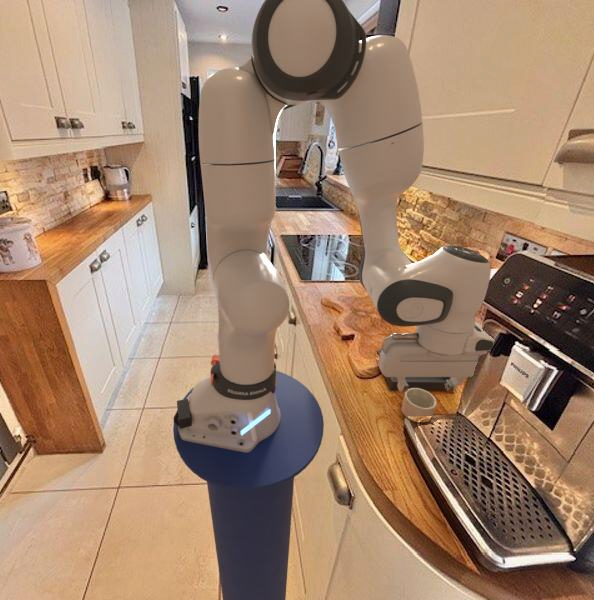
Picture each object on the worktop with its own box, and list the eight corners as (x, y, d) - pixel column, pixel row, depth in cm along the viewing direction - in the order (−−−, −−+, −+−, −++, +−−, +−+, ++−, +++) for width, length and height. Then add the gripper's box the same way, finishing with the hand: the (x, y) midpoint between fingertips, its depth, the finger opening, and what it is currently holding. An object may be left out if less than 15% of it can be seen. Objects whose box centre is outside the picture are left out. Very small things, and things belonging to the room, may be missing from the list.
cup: (406, 424, 67) (411, 409, 65) (396, 402, 72) (400, 387, 70) (436, 425, 67) (442, 409, 65) (424, 403, 72) (428, 387, 70)
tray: (390, 390, 76) (392, 381, 75) (375, 357, 87) (376, 349, 85) (452, 391, 75) (455, 382, 74) (429, 357, 86) (431, 349, 85)
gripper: (390, 343, 57) (378, 400, 64) (509, 343, 57) (485, 401, 63) (379, 324, 63) (369, 378, 70) (487, 323, 62) (467, 378, 69)
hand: (425, 389), depth 66 cm, fingers open, 8 cm apart
